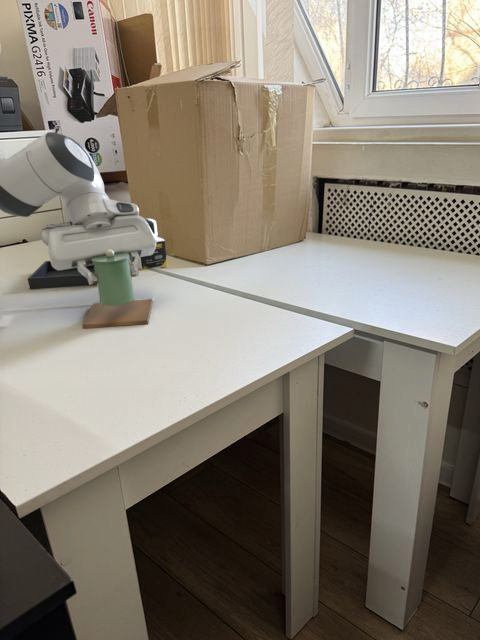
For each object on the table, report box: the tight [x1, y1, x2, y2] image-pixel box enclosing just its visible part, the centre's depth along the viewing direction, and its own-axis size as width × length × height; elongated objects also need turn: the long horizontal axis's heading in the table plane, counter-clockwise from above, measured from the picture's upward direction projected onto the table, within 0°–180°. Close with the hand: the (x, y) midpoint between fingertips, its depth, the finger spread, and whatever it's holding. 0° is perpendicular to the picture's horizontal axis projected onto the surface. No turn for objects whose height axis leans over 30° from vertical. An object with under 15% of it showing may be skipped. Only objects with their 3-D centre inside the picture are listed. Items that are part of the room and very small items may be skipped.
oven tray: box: [27, 260, 97, 290], centre depth 123 cm, size 17×15×3 cm
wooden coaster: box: [81, 298, 154, 329], centre depth 100 cm, size 12×12×1 cm
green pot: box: [91, 249, 136, 306], centre depth 97 cm, size 7×7×10 cm
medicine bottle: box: [130, 218, 168, 270], centre depth 130 cm, size 7×7×12 cm
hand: (115, 279), depth 97 cm, fingers closed on green pot, 6 cm apart
